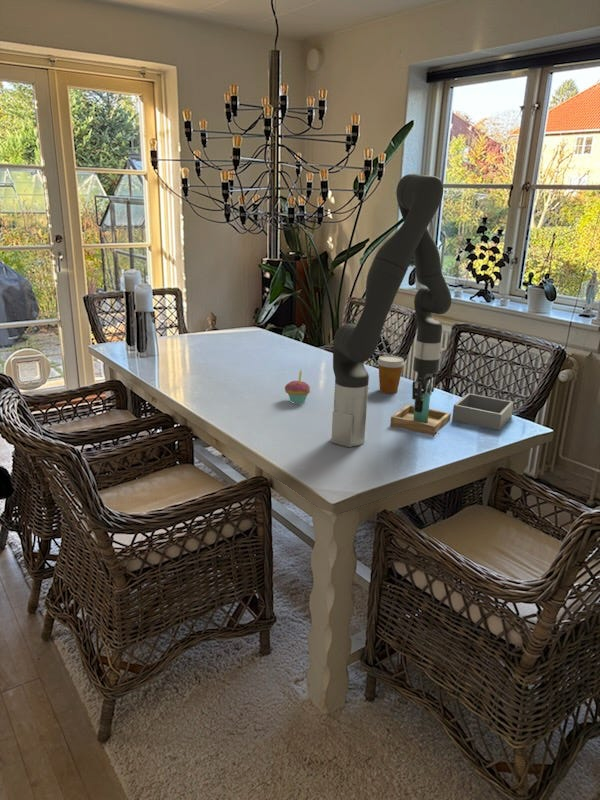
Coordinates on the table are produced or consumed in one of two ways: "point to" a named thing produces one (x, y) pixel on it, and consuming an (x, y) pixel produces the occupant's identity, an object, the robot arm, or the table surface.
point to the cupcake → (297, 390)
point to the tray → (406, 422)
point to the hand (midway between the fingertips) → (421, 409)
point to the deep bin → (483, 411)
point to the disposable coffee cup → (390, 373)
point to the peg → (423, 410)
